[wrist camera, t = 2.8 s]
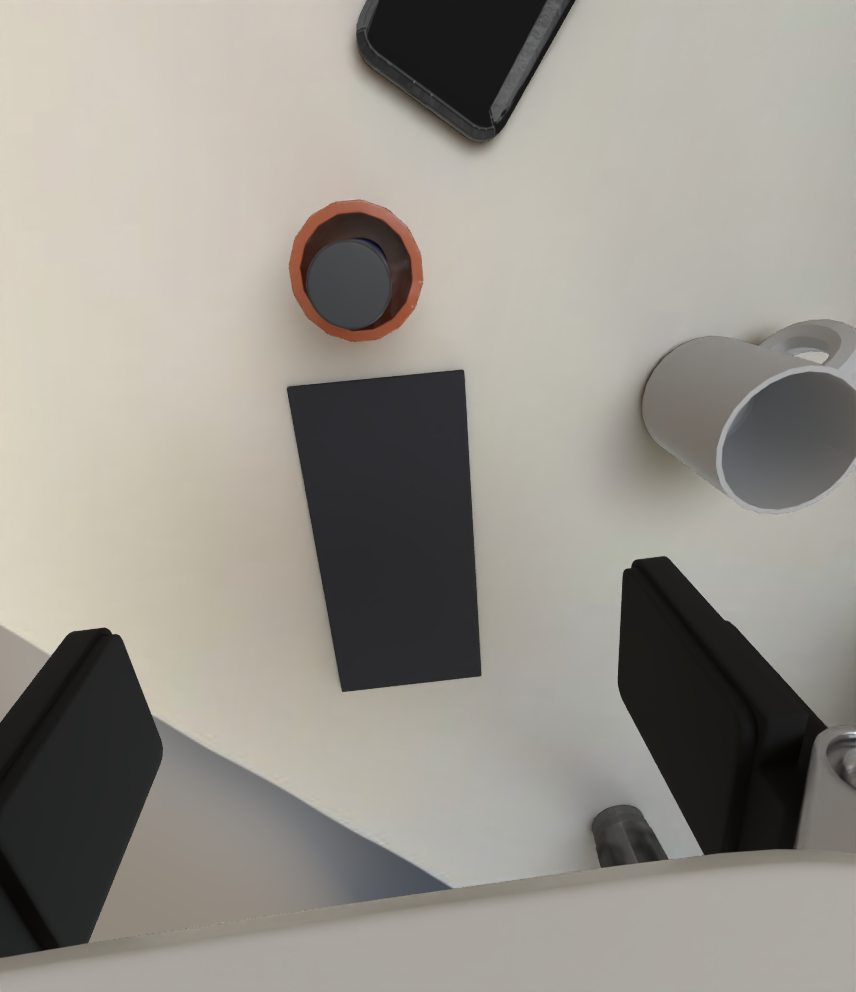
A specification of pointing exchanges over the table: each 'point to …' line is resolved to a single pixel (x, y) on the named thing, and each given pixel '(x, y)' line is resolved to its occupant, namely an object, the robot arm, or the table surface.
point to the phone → (461, 54)
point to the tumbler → (370, 224)
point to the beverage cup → (625, 838)
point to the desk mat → (392, 524)
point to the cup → (761, 414)
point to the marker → (349, 283)
